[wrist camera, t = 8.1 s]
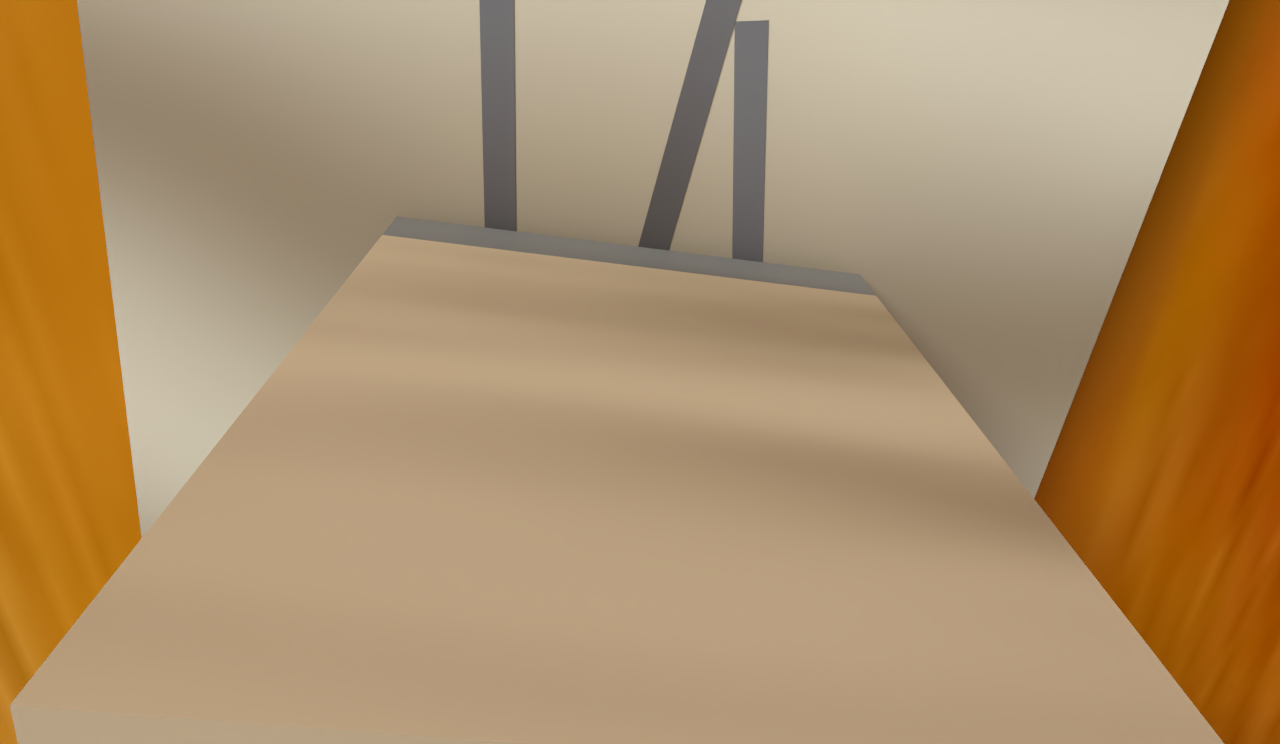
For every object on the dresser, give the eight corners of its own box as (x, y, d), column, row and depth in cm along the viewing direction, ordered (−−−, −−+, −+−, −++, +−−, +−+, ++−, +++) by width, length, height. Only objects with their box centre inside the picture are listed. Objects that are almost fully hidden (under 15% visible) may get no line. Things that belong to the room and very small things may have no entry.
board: (46, -1294, 6) (-126, -1678, 4) (1458, -919, 7) (1679, -1145, 5) (219, 730, 13) (174, 820, 12) (863, 778, 14) (890, 866, 13)
